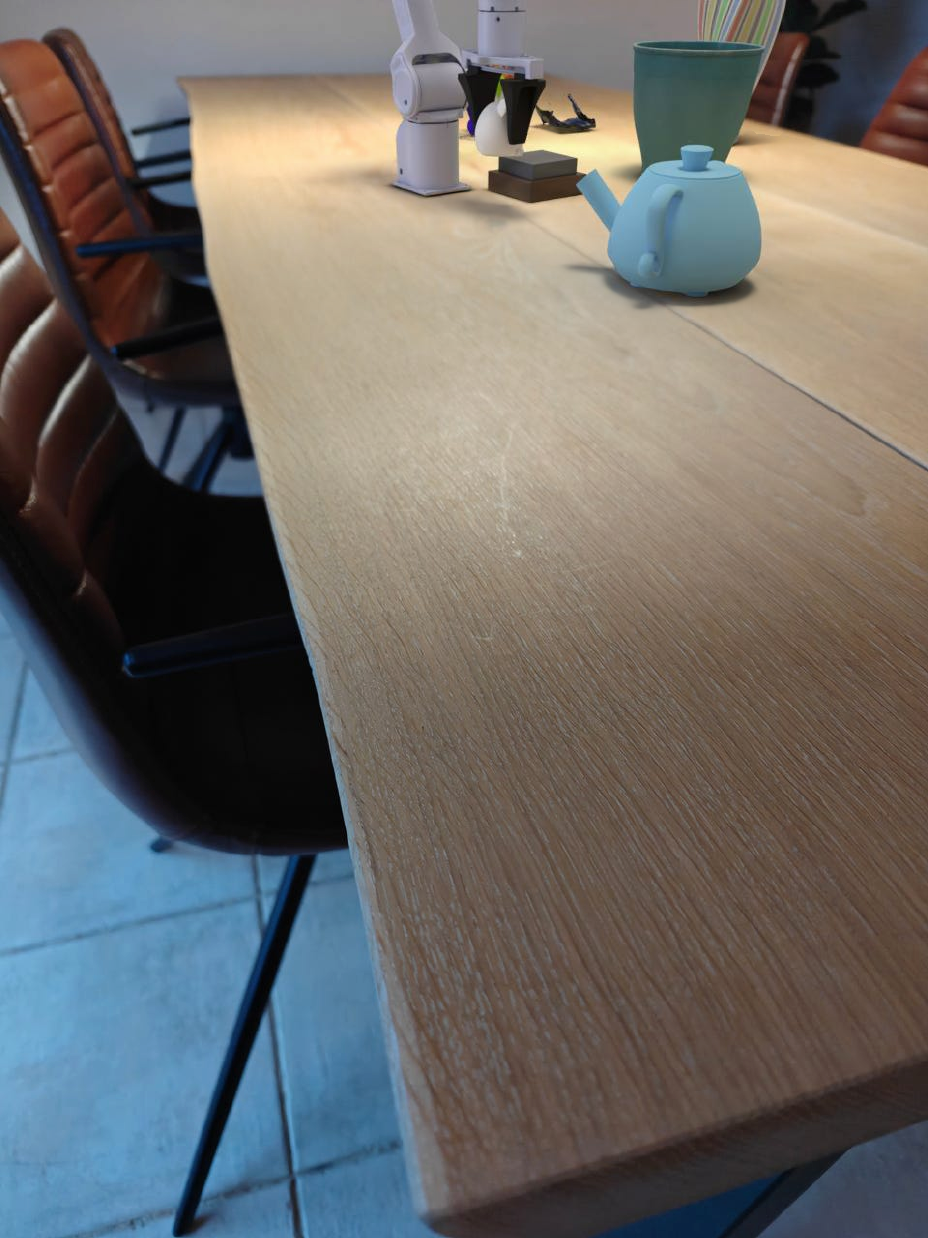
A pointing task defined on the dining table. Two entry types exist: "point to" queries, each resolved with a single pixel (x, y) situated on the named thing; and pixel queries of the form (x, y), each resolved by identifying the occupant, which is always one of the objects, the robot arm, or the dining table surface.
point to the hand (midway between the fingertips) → (499, 139)
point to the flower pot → (691, 95)
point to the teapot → (681, 224)
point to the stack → (536, 176)
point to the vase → (741, 24)
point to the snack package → (579, 122)
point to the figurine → (495, 131)
